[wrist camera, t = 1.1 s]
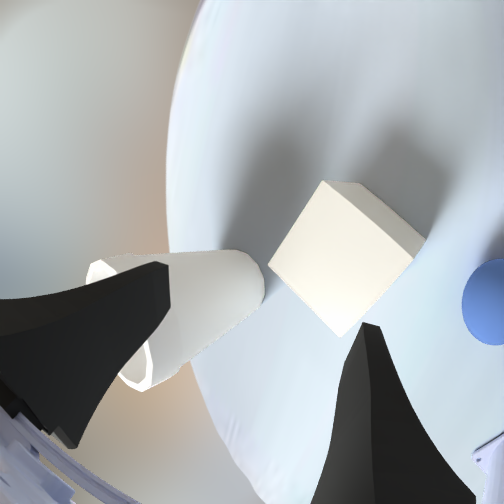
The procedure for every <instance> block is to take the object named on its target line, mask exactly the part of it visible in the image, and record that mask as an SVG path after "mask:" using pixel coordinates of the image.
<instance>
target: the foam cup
mask: <svg viewBox="0 0 504 504" xmlns="http://www.w3.org/2000/svg"><path fill="white" fill-rule="evenodd" d="M153 261H158V262H161V263H164V264H167V265H169V284H170V301H171V308H170V310H169V311H168V313H167V314H166V316H165V317H164V319H163V320H162V322H161V323H160V325H159V326H158V328H157V329H156V330H155V331H154V332H153V334H152V335H151V336H150V337H149V338H148V339H147V340H146V342H145V343H144V344H143V345H142V346H141V347H140V348H139V349H138V351H137V352H136V353H135V354H134V355H133V356H132V357H131V358H130V360H129V361H128V362H127V363H126V364H125V365H124V367H123V368H122V369H121V370H120V372H119V373H118V375H119V376H120V377H121V379H122V380H123V381H124V382H125V383H126V384H127V385H128V386H130V387H132V388H134V389H136V390H139V391H141V392H143V391H145V390H147V389H149V388H151V387H152V386H155V385H157V384H159V383H161V382H163V381H165V380H166V379H168V378H170V377H171V376H173V375H174V374H176V373H177V372H179V369H180V367H181V366H182V365H184V364H185V363H186V362H188V361H189V360H191V359H192V358H193V357H195V356H196V355H197V354H199V353H200V352H201V351H203V350H204V349H206V348H207V347H208V346H210V345H211V344H212V343H214V342H215V341H216V340H218V339H219V338H220V337H222V336H223V335H224V334H226V333H227V332H228V331H230V330H231V329H232V328H234V327H235V326H236V325H238V324H239V323H240V322H242V321H243V320H244V319H245V318H247V317H248V316H249V315H251V314H252V313H253V312H255V311H256V310H257V309H258V308H259V307H260V306H261V304H262V301H263V298H264V296H265V286H264V278H263V275H262V273H261V271H260V269H259V266H258V264H257V263H256V262H255V261H254V260H253V259H252V258H251V257H250V256H249V255H248V254H247V253H244V252H241V251H239V250H236V249H234V250H231V249H228V250H212V251H197V252H181V253H166V254H150V255H133V254H132V253H128V254H124V255H119V256H114V257H110V258H104V259H100V260H98V261H96V262H94V263H91V264H90V268H89V271H88V274H87V278H86V285H87V284H90V283H93V282H96V281H99V280H102V279H105V278H108V277H111V276H113V275H116V274H119V273H121V272H124V271H127V270H129V269H132V268H135V267H138V266H140V265H143V264H146V263H150V262H153Z"/></svg>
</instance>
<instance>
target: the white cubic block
mask: <svg viewBox="0 0 504 504" xmlns="http://www.w3.org/2000/svg"><path fill="white" fill-rule="evenodd" d="M425 241H426V239H424V238H423V237H422V236H421V235H420V234H419V233H418V232H417V231H416V230H415V229H414V228H412V227H411V226H410V225H409V224H408V223H407V222H406V221H405V220H403V219H402V218H401V217H400V216H399V215H398V214H397V213H395V212H394V211H393V210H392V209H391V208H390V207H388V206H387V205H386V204H385V203H384V202H382V201H381V200H380V199H379V198H378V197H376V196H375V195H374V194H373V193H372V192H370V191H369V190H368V189H367V188H365V187H364V186H363V185H361V184H360V183H352V182H340V181H328V180H322V181H321V183H320V184H319V186H318V188H317V189H316V191H315V192H314V194H313V195H312V197H311V199H310V200H309V202H308V203H307V205H306V206H305V208H304V209H303V211H302V213H301V214H300V216H299V217H298V219H297V220H296V222H295V223H294V225H293V227H292V228H291V230H290V231H289V233H288V234H287V236H286V237H285V239H284V240H283V242H282V243H281V245H280V247H279V248H278V250H277V251H276V253H275V254H274V256H273V257H272V259H271V260H270V262H269V263H268V266H269V267H270V268H271V269H272V270H273V271H274V272H275V273H276V274H277V275H278V276H279V277H280V278H281V279H282V280H283V281H284V282H285V283H286V284H287V285H288V286H289V287H290V288H291V289H292V290H293V291H294V292H295V293H296V294H297V295H298V296H299V297H300V298H301V299H302V300H303V301H304V302H305V303H306V304H307V305H308V306H309V307H310V308H311V309H312V310H313V311H314V312H315V313H316V314H317V315H318V316H319V317H320V318H321V319H322V320H323V321H324V322H325V323H326V324H327V325H328V326H329V327H330V328H331V329H332V330H333V331H334V332H335V333H336V334H337V335H338V336H339V337H340V338H341V337H342V336H343V335H344V334H345V333H346V332H347V331H348V330H349V329H350V328H351V327H352V326H353V325H354V324H355V323H356V322H357V321H358V320H359V319H360V318H361V317H362V316H363V315H364V314H365V313H366V312H367V311H368V310H369V309H370V308H371V306H372V305H373V304H374V303H375V302H376V301H377V300H378V299H379V298H380V297H381V296H382V295H383V294H384V293H385V291H386V290H387V289H388V288H389V287H390V286H391V285H392V284H393V283H394V281H395V280H396V279H397V278H398V277H399V276H400V275H401V273H402V272H403V271H404V270H405V269H406V268H407V266H408V265H409V264H410V263H411V262H412V261H413V259H414V258H415V256H416V255H417V253H418V252H419V250H420V249H421V247H422V246H423V244H424V243H425Z"/></svg>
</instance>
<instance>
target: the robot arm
mask: <svg viewBox="0 0 504 504" xmlns="http://www.w3.org/2000/svg"><path fill="white" fill-rule="evenodd" d="M170 308H171V301H170V284H169V265H167V264H164V263H161V262H158V261H153V262H150V263H146V264H143V265H140V266H138V267H135V268H132V269H129V270H127V271H124V272H121V273H119V274H116V275H113V276H111V277H108V278H105V279H102V280H99V281H96V282H93V283H90V284H87V285H84V286H82V287H78V288H75V289H71V290H67V291H63V292H59V293H54V294H48V295H42V296H36V297H31V298H20V299H0V504H76V503H75V502H73V501H72V500H71V498H72V496H73V495H74V494H75V490H74V489H73V488H72V487H70V486H69V485H68V484H67V483H66V482H64V481H63V480H62V479H61V478H59V477H58V476H57V475H56V474H55V473H53V472H52V471H51V470H49V469H48V468H47V467H46V466H45V465H44V464H43V463H41V462H40V460H39V452H40V453H41V454H42V455H43V456H44V457H45V458H46V459H47V460H49V461H50V462H51V463H52V464H53V465H54V466H55V467H57V468H58V469H59V470H60V471H61V472H63V473H64V474H65V475H66V476H68V477H69V478H70V479H71V480H73V481H74V482H75V483H77V484H78V485H79V486H81V487H82V488H83V489H85V490H86V491H87V492H89V493H91V494H92V495H93V496H95V497H96V498H97V499H99V500H100V501H102V502H103V503H105V504H141V503H139V502H138V501H136V500H134V499H133V498H131V497H129V496H127V495H126V494H124V493H122V492H121V491H119V490H117V489H116V488H114V487H113V486H111V485H110V484H108V483H106V482H105V481H103V480H102V479H100V478H99V477H98V476H96V475H95V474H93V473H92V472H90V471H89V470H87V469H86V468H85V467H83V466H82V465H81V464H79V463H78V462H77V461H75V460H74V459H73V458H72V457H70V456H69V455H68V454H66V453H65V452H64V451H63V450H62V449H60V448H59V447H58V446H57V445H56V444H54V443H53V442H52V441H51V440H50V439H49V438H47V437H46V436H45V435H44V434H43V433H42V432H41V430H43V431H44V432H46V433H47V434H48V435H52V436H53V437H55V438H56V439H57V440H58V441H59V442H61V443H62V444H63V445H64V446H65V447H67V448H68V449H75V448H77V447H78V444H79V442H80V440H81V437H82V435H83V433H84V431H85V429H86V427H87V425H88V423H89V421H90V419H91V417H92V415H93V413H94V411H95V410H96V408H97V406H98V404H99V403H100V400H101V399H102V398H103V396H104V394H105V393H106V391H107V389H108V388H109V386H110V385H111V383H112V382H113V380H114V379H115V377H116V376H117V374H118V373H119V372H120V370H121V369H122V368H123V367H124V365H125V364H126V363H127V362H128V361H129V360H130V358H131V357H132V356H133V355H134V354H135V353H136V352H137V351H138V349H139V348H140V347H141V346H142V345H143V344H144V343H145V342H146V340H147V339H148V338H149V337H150V336H151V335H152V334H153V332H154V331H155V330H156V329H157V328H158V326H159V325H160V323H161V322H162V320H163V319H164V317H165V316H166V314H167V313H168V311H169V310H170ZM38 451H39V452H38ZM477 458H480V459H477ZM471 459H472V460H473V461H474V462H475V463H476V464H477V465H478V467H479V468H480V469H481V470H482V471H483V472H484V473H485V474H486V481H485V487H484V493H483V498H482V503H481V504H504V434H502V435H501V436H499V437H498V438H496V439H495V440H493V441H492V442H490V443H488V444H487V445H485V446H483V447H482V448H480V449H478V450H477V451H475V452H474V453H472V456H471ZM311 504H476V496H475V495H474V494H473V492H472V491H471V490H470V489H469V488H468V487H467V486H466V485H465V484H464V483H463V481H462V480H461V479H460V478H459V477H458V476H457V475H456V474H455V472H454V471H453V470H452V468H451V467H450V466H449V465H448V463H447V462H446V461H445V459H444V458H443V457H442V455H441V454H440V452H439V451H438V450H437V448H436V446H435V445H434V443H433V442H432V440H431V439H430V437H429V436H428V434H427V433H426V431H425V429H424V428H423V426H422V424H421V422H420V420H419V419H418V417H417V415H416V413H415V411H414V409H413V407H412V405H411V403H410V401H409V399H408V397H407V395H406V393H405V390H404V388H403V386H402V383H401V381H400V379H399V376H398V374H397V371H396V369H395V366H394V364H393V361H392V359H391V356H390V353H389V350H388V348H387V345H386V342H385V339H384V336H383V334H382V331H381V329H380V327H379V326H376V325H372V324H368V323H364V322H363V323H362V325H361V327H360V330H359V332H358V334H357V336H356V339H355V341H354V343H353V345H352V347H351V350H350V352H349V354H348V356H347V358H346V360H345V362H344V366H343V371H342V375H341V379H340V383H339V387H338V395H337V402H336V409H335V416H334V423H333V429H332V436H331V442H330V446H329V451H328V454H327V458H326V461H325V464H324V467H323V470H322V474H321V477H320V479H319V482H318V485H317V488H316V491H315V493H314V496H313V499H312V501H311Z"/></svg>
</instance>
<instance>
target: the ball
mask: <svg viewBox="0 0 504 504" xmlns="http://www.w3.org/2000/svg"><path fill="white" fill-rule="evenodd" d="M462 313H463V318H464V321H465V324H466V326H467V328H468V330H469V331H470V332H471V334H472V335H473V336H474V337H475V338H476V339H478V340H479V341H481V342H483V343H485V344H489V345H503V344H504V259H494V260H490V261H488V262H486V263H484V264H482V265H481V266H480V267H478V268H477V269H476V270H475V271H474V272H473V274H472V275H471V276H470V278H469V280H468V281H467V284H466V286H465V289H464V292H463V297H462Z"/></svg>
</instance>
